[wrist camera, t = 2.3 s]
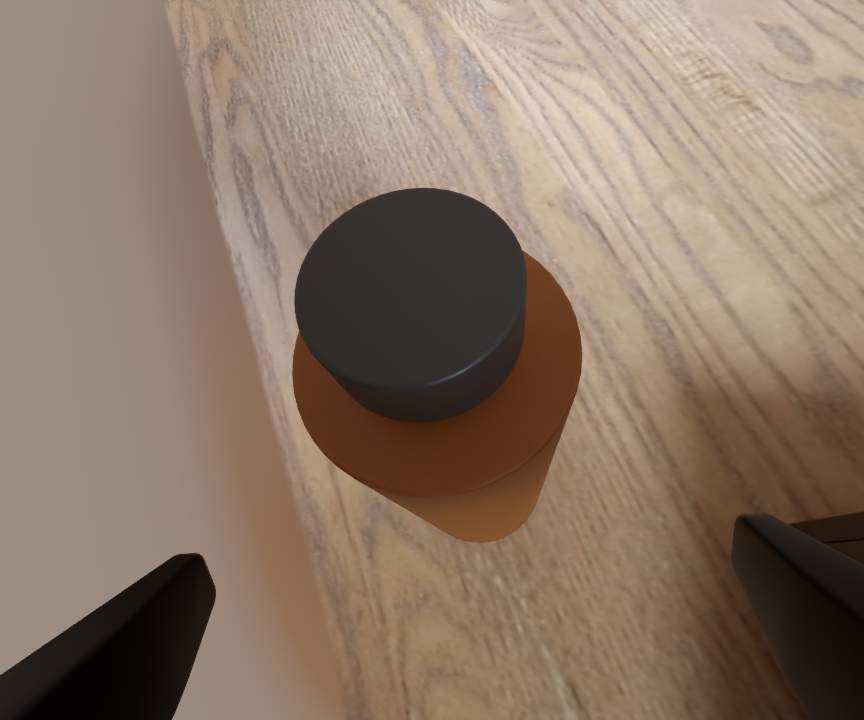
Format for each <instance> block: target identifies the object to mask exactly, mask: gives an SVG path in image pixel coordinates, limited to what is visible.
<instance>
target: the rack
mask: <svg viewBox="0 0 864 720" xmlns="http://www.w3.org/2000/svg"><path fill="white" fill-rule="evenodd" d="M788 525H790V526H792V527H794V528H796V529H797V530H799V531H801V532H803V533H805V534H807V535H809V536H811V537H813V538H814V539H816V540H818V541H820V542H822V543H824V544H826V545H828V546H829V547H831V548H833V549H835V550H837V551H839V552H841V553H843V554H844V555H846V556H848V557H850V558H852V559H854V560H856V561H858V562H859V563H861V564H863V565H864V511H863V512H857V513H851V514H845V515H839V516H834V517H828V518H822V519H816V520H810V521H804V522H798V523H793V524H788Z"/></svg>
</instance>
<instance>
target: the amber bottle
mask: <svg viewBox="0 0 864 720" xmlns="http://www.w3.org/2000/svg"><path fill="white" fill-rule="evenodd" d="M295 314H296V320H297V324H298V328H299V334H298V337H297V340H296V345H295V350H294V356H293V372H292V376H293V387H294V394H295V399H296V403H297V407H298V410H299V413H300V415H301V418H302V420H303V423H304V425H305V427H306V429H307V431H308V432H309V434H310V436H311V437H312V439H313V441H314V442H315V443H316V445H317V446H318V447H319V448H320V450H321V451H322V452H323V453H324V455H325V456H326V457H328V458H329V459H330V460H331V461H332V462H333V463H334V464H335V465H336V466H337V467H338V468H340V469H341V470H343V471H344V472H346V473H347V474H349V475H350V476H351V477H353V478H354V479H356V480H358V481H359V482H361V483H363V484H365V485H366V486H368V487H370V488H371V489H373V490H375V491H376V492H378V493H380V494H381V495H383V496H385V497H386V498H388V499H390V500H392V501H393V502H395V503H397V504H398V505H400V506H402V507H403V508H405V509H407V510H408V511H410V512H412V513H414V514H415V515H417V516H419V517H420V518H422V519H424V520H425V521H427V522H429V523H430V524H432V525H434V526H436V527H437V528H439V529H441V530H442V531H444V532H446V533H447V534H449V535H451V536H453V537H455V538H458V539H461V540H464V541H470V542H490V541H494V540H498V539H500V538H503V537H505V536H507V535H509V534H511V533H513V532H514V531H515V530H517V529H518V528H519V527H520V526H521V525H522V524H523V523H524V522H525V521H526V520H527V518H528V517H529V516H530V514H531V513H532V511H533V509H534V507H535V505H536V502H537V499H538V497H539V494H540V491H541V488H542V486H543V483H544V480H545V477H546V475H547V472H548V469H549V466H550V464H551V461H552V458H553V456H554V453H555V450H556V447H557V445H558V442H559V439H560V436H561V434H562V431H563V428H564V425H565V423H566V420H567V417H568V414H569V412H570V409H571V406H572V403H573V401H574V398H575V395H576V392H577V388H578V384H579V379H580V375H581V364H582V346H581V336H580V331H579V327H578V323H577V319H576V316H575V314H574V311H573V309H572V306H571V304H570V302H569V300H568V298H567V297H566V295H565V293H564V291H563V290H562V288H561V287H560V285H559V284H558V283H557V281H556V280H555V279H554V278H553V276H552V275H551V274H550V273H549V272H548V271H547V270H546V269H545V268H544V267H543V266H542V265H541V264H540V263H539V262H538V261H536V260H535V259H534V258H532V257H531V256H530V255H528V254H527V253H526V252H524V251H522V249H521V246H520V244H519V242H518V240H517V238H516V237H515V235H514V233H513V232H512V230H511V229H510V228H509V226H508V225H507V224H506V223H505V221H504V220H503V219H502V218H501V217H500V216H499V215H497V214H496V213H495V212H494V211H493V210H491V209H490V208H489V207H487V206H486V205H484V204H483V203H481V202H479V201H477V200H475V199H473V198H471V197H468V196H466V195H463V194H460V193H456V192H453V191H449V190H442V189H435V188H414V189H404V190H398V191H393V192H389V193H386V194H382V195H379V196H377V197H374V198H371V199H369V200H366V201H365V202H363V203H361V204H359V205H357V206H355V207H353V208H352V209H350V210H348V211H347V212H345V213H344V214H342V215H341V216H340V217H339V218H337V219H336V220H335V221H334V222H332V223H331V224H330V225H329V226H328V227H327V228H326V229H325V230H324V231H323V232H322V234H321V235H320V236H319V237H318V238H317V240H316V241H315V242H314V244H313V245H312V247H311V248H310V250H309V251H308V253H307V255H306V257H305V259H304V261H303V263H302V265H301V268H300V271H299V274H298V277H297V282H296V288H295Z"/></svg>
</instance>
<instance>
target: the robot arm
mask: <svg viewBox="0 0 864 720" xmlns="http://www.w3.org/2000/svg"><path fill="white" fill-rule="evenodd" d="M731 557H732V564H733V567H734V570H735V573H736V575H737V577H738V579H739V581H740V583H741V586H742V588H743V590H744V592H745V594H746V596H747V598H748V600H749V603H750V605H751V607H752V609H753V611H754V613H755V615H756V617H757V620H758V622H759V624H760V626H761V628H762V630H763V632H764V635H765V637H766V639H767V641H768V643H769V645H770V647H771V649H772V652H773V654H774V656H775V658H776V660H777V662H778V664H779V666H780V668H781V670H782V672H783V674H784V675H785V677H786V679H787V681H788V683H789V684H790V686H791V688H792V690H793V691H794V693H795V695H796V696H797V698H798V700H799V702H800V703H801V705H802V707H803V708H804V710H805V712H806V713H807V715H808V717H809V718H810V720H864V565H863V564H861V563H859V562H858V561H856V560H854V559H852V558H850V557H848V556H846V555H844V554H843V553H841V552H839V551H837V550H835V549H833V548H831V547H829V546H828V545H826V544H824V543H822V542H820V541H818V540H816V539H814V538H813V537H811V536H809V535H807V534H805V533H803V532H801V531H799V530H797V529H796V528H794V527H792V526H790V525H788V524H786V523H784V522H782V521H781V520H779V519H777V518H775V517H773V516H771V515H769V514H766V513H755V514H742V515H739V516H738V517H737V518H736V519H735V523H734V533H733V543H732V553H731ZM215 597H216V589H215V585H214V583H213V580H212V577H211V575H210V572H209V570H208V568H207V565H206V563H205V560H204V558H203V557H202V556H201V555H200V554H197V553H189V554H179V555H175V556H173V557H172V558H170V559H169V560H167V561H166V562H165V563H163V564H162V565H160V566H159V567H157V568H156V569H154V570H153V571H151V572H150V573H149V574H147V575H146V576H144V577H143V578H141V579H140V580H138V581H137V582H135V583H134V584H132V585H131V586H130V587H128V588H127V589H125V590H124V591H122V592H121V593H119V594H118V595H117V596H115V597H114V598H112V599H111V600H109V601H108V602H106V603H105V604H103V605H102V606H100V607H99V608H98V609H96V610H95V611H93V612H92V613H90V614H89V615H87V616H86V617H84V618H83V619H82V620H80V621H79V622H77V623H76V624H74V625H73V626H71V627H70V628H68V629H67V630H66V631H64V632H63V633H61V634H60V635H58V636H57V637H55V638H54V639H52V640H51V641H50V642H48V643H47V644H45V645H44V646H42V647H41V648H39V649H38V650H36V651H35V652H33V653H32V654H31V655H29V656H28V657H26V658H25V659H23V660H22V661H20V662H19V663H17V664H16V665H15V666H13V667H12V668H10V669H9V670H7V671H6V672H4V673H3V674H2V675H0V720H172V718H173V716H174V714H175V711H176V709H177V707H178V704H179V702H180V699H181V697H182V694H183V692H184V689H185V687H186V684H187V681H188V679H189V676H190V673H191V670H192V667H193V664H194V661H195V658H196V655H197V652H198V650H199V647H200V643H201V641H202V638H203V635H204V632H205V629H206V626H207V623H208V620H209V617H210V614H211V611H212V608H213V605H214V602H215Z"/></svg>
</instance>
